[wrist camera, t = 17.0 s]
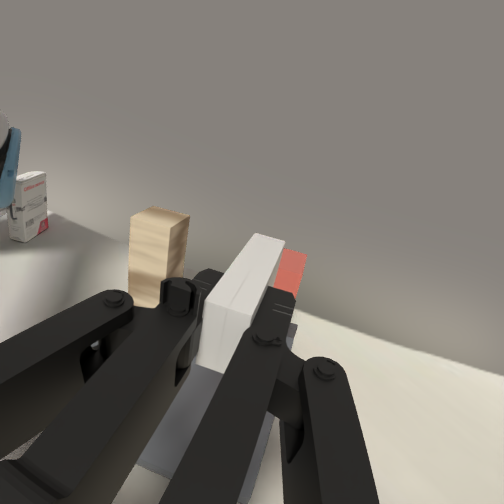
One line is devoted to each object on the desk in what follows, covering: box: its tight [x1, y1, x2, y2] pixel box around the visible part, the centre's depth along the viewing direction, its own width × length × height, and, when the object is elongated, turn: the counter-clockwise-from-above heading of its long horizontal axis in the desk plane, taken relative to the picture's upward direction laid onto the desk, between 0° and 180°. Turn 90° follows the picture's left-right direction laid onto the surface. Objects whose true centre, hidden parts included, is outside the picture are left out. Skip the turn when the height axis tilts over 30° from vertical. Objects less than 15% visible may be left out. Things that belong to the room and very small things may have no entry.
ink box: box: [7, 171, 48, 243], centre depth 51 cm, size 9×5×12 cm, turn 177°
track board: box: [91, 323, 298, 504], centre depth 32 cm, size 24×22×3 cm
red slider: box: [273, 248, 307, 298], centre depth 34 cm, size 5×5×12 cm
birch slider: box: [128, 206, 190, 308], centre depth 38 cm, size 5×5×12 cm
